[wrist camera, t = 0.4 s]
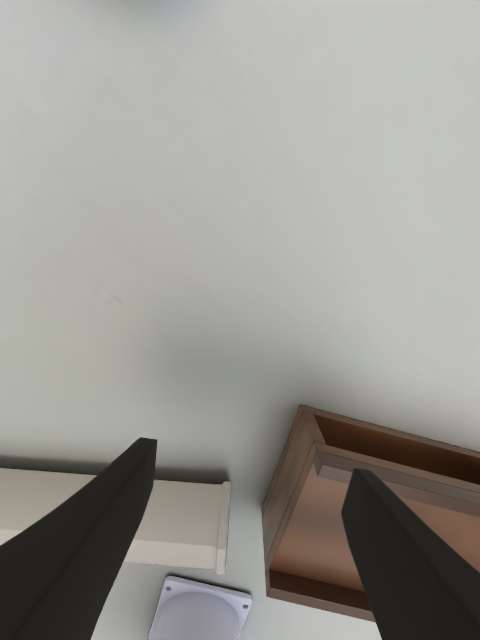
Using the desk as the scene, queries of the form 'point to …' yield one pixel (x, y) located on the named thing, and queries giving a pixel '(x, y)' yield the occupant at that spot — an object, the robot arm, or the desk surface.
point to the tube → (157, 523)
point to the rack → (329, 494)
